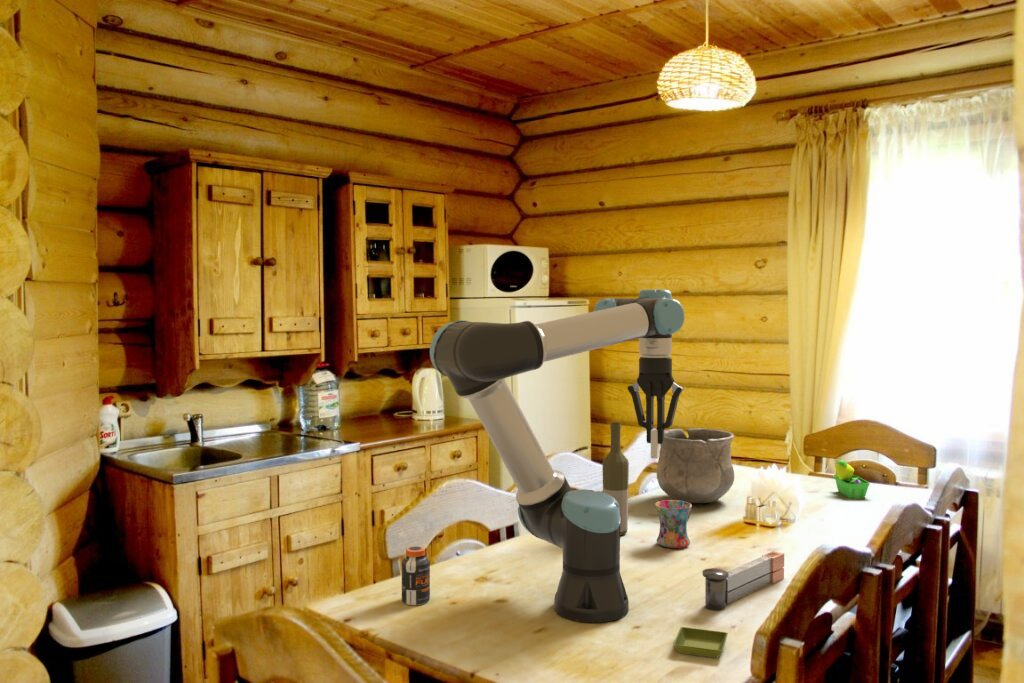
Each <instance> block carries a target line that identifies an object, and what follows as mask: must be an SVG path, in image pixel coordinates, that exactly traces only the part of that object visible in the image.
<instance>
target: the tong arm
mask: <svg viewBox="0 0 1024 683" xmlns="http://www.w3.org/2000/svg"><path fill="white" fill-rule="evenodd" d="M784 567H785V553H783V552H779V551H775V550H772V551H770V552H767V553H765V554H762V555H761V557H758V558H756V559H754V560H751V561H749V562H747V563H743V564H742V565H739V566H738V567H735V568H732V569H731V570H727V572H728V573H729V577H728V578H726V589H725V591H727V592H728V591H730V590H732V589H734V588H737V587H739V586H741V585H743V584H745V583H747V582H750V581H752V580H754V579H756V578H758V577H760V576H763V575H765V574H767V573H769V572H771V571H772V572H774V571H776V570H778V569H780V568H784Z"/></svg>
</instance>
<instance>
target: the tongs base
mask: <svg viewBox="0 0 1024 683" xmlns="http://www.w3.org/2000/svg"><path fill="white" fill-rule="evenodd" d="M702 576H703V577H704V578H705V586H704V587H705V590H704V591H705V593H704V594H705V595H704V597H705V599H704V600H705V601H704V602H705V605H704V607H705V608H706V609H708V610H709V611H710V610H711V611H716V612H717V611H724V610H725V609H726V605H729V604H731V603H734V602H735V601H737V600H740V599H741V598H744V597H745V596H749V595H750V594H752V593H754V592H756V591H759V590H760V589H762V588H766V587H767V586H768V585H771V584H776V583H778V582H779V581H781V580H783V579H785V568H784V567H782V568H780V569H778V570H776V571H774V572H772V571H771V572H769V573H767V574H765V575H763V576H760V577H758V578H756V579H754V580H752V581H750V582H747V583H745V584H743V585H741V586H739V587H737V588H734V589H732V590H730V591H728V592H727V591H725V589H726V578H728V577H729V573H728V570H725V569H721V568H712V567H711V568H705V569H703V570H702Z"/></svg>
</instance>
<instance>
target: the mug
mask: <svg viewBox="0 0 1024 683" xmlns="http://www.w3.org/2000/svg"><path fill="white" fill-rule="evenodd" d="M654 506H655V508H656V512H657V514H658V517H659V518H658V519H659V533H658V536H657V539H656V543H657V544H658V545H660V546H662V547H664V548H668V549H680V548H681V549H682V548H684V547H687V546H689V545H690V544H691V540H690V539H689V536H688V530H687V525H688V521H689V519H690V516H691V513H692V507H693V505H692V503H688V502H685V501H679V500H676V499H664V500H658V501H656V502H655V503H654Z"/></svg>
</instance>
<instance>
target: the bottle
mask: <svg viewBox="0 0 1024 683" xmlns="http://www.w3.org/2000/svg"><path fill="white" fill-rule="evenodd" d="M609 429H610V451H609V452H608V454H606V456H605V457H604V458H603V459H602V492H603V493H606V494H608V495H610V496H612V497H613V498H614V499H615V500H616V501H617V502H618V504H619V510H620V518H621V522H620V536H623V535H626V534H627V533H628V525H629V524H628V520H629V517H628V516H629V476H630V475H629V472H630V466H629V465H630V463H629V459H628V458H626V456H625V455H624V453H623V452H622V451H621V450H622V449H621V430H622V426H621V422H610V428H609Z"/></svg>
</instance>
